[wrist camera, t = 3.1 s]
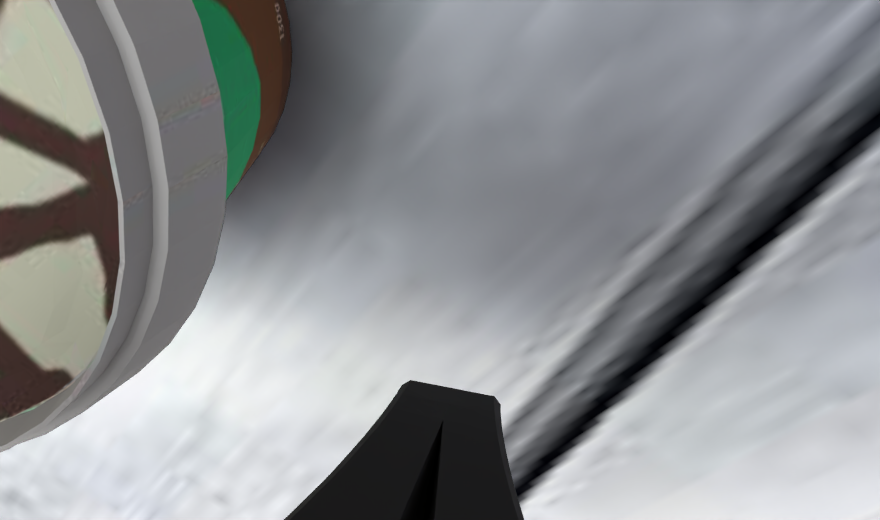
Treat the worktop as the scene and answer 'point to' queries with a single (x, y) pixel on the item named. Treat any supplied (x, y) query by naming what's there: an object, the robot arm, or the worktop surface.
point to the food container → (118, 182)
